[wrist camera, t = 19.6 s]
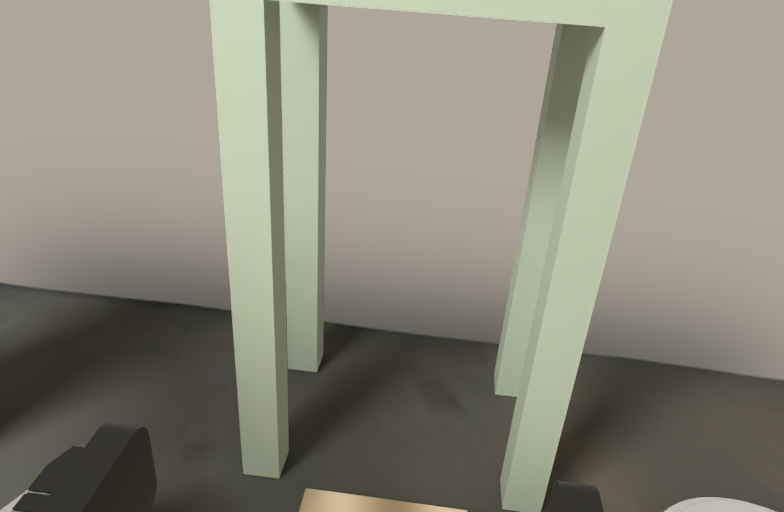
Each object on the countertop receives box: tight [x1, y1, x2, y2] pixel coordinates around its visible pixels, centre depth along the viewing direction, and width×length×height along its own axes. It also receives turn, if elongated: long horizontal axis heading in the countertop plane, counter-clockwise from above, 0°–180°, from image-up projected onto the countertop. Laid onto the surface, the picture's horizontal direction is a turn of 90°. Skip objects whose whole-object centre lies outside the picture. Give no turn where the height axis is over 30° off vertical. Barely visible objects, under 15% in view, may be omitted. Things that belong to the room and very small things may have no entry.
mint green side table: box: [210, 0, 673, 512], centre depth 39 cm, size 20×14×32 cm
